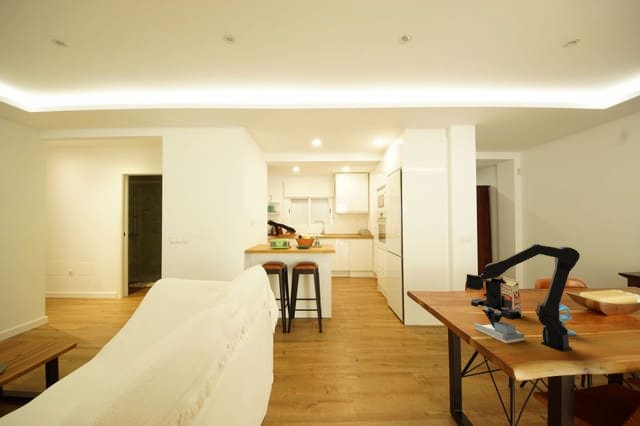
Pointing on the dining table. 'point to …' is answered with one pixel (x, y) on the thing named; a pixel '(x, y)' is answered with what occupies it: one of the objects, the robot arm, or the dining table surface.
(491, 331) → the board
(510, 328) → the block
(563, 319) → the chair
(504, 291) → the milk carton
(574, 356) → the dining table surface
